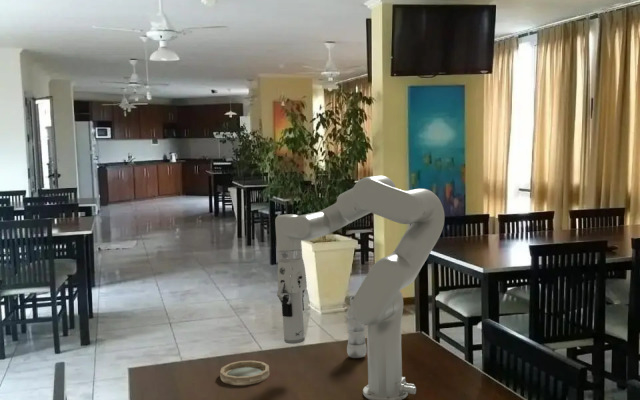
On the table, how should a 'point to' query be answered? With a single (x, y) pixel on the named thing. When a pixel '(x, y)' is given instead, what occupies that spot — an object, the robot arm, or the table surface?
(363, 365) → the table surface
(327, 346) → the table surface
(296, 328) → the travel mug
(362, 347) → the plastic bottle
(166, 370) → the table surface
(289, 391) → the table surface
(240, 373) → the round tray
